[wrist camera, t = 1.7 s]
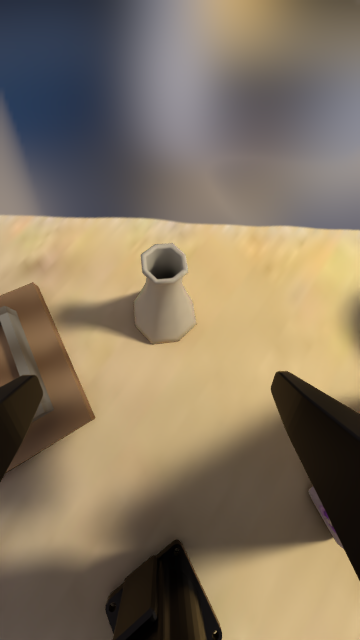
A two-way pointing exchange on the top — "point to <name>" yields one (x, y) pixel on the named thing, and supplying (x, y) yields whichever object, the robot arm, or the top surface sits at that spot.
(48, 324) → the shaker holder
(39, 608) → the top surface
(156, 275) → the flask
